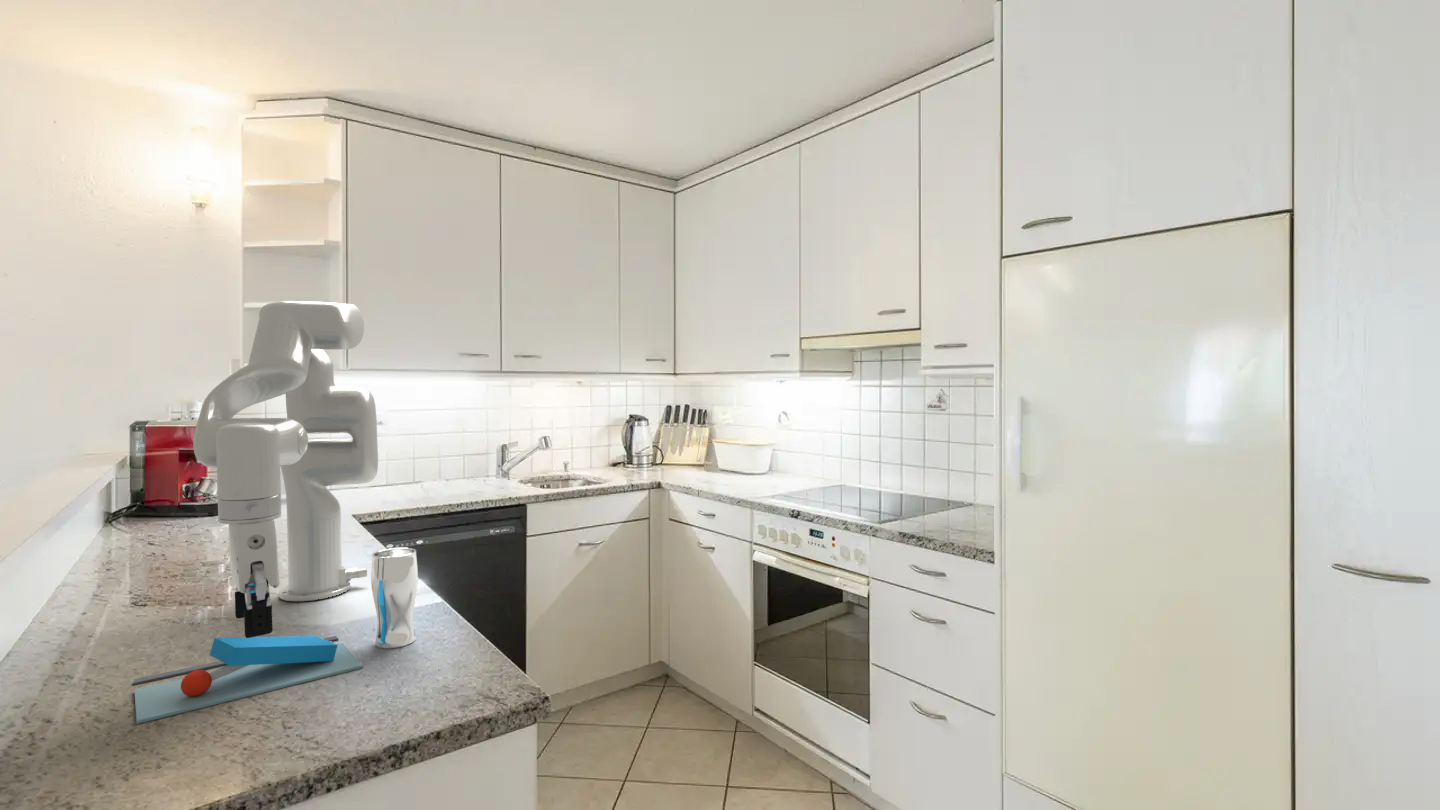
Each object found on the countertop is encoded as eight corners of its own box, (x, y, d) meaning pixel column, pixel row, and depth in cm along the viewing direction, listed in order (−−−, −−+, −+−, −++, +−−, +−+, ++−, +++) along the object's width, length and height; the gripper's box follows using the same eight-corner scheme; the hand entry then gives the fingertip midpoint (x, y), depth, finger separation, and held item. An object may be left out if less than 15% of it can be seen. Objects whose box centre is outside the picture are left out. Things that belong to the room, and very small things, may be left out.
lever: (303, 681, 108) (168, 691, 94) (315, 635, 110) (184, 637, 95) (325, 692, 104) (188, 704, 90) (337, 644, 106) (204, 648, 91)
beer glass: (427, 638, 116) (426, 549, 116) (392, 652, 110) (391, 559, 109) (398, 632, 119) (397, 545, 118) (362, 645, 113) (361, 554, 112)
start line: (335, 637, 116) (335, 635, 116) (338, 640, 115) (338, 638, 115) (133, 681, 99) (133, 679, 99) (134, 684, 98) (134, 682, 98)
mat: (342, 645, 113) (342, 643, 113) (362, 667, 104) (362, 665, 104) (134, 692, 95) (134, 689, 95) (136, 723, 86) (136, 720, 86)
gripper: (292, 514, 95) (295, 636, 96) (270, 497, 108) (273, 604, 109) (225, 522, 90) (229, 650, 91) (211, 502, 103) (215, 615, 104)
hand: (253, 625), depth 100 cm, fingers open, 9 cm apart
